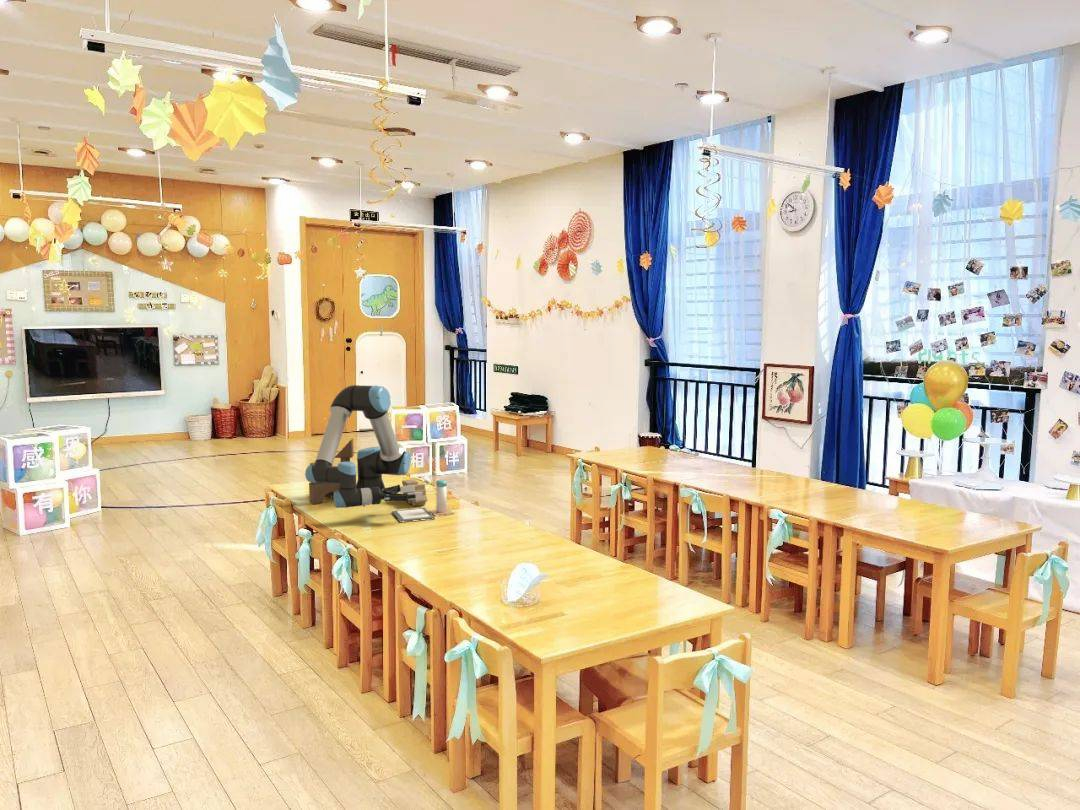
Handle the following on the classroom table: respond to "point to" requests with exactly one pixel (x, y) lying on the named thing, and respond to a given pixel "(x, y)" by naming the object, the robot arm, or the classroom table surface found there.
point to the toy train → (417, 489)
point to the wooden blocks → (326, 489)
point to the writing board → (413, 514)
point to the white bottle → (441, 496)
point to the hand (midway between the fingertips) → (418, 491)
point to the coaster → (441, 513)
